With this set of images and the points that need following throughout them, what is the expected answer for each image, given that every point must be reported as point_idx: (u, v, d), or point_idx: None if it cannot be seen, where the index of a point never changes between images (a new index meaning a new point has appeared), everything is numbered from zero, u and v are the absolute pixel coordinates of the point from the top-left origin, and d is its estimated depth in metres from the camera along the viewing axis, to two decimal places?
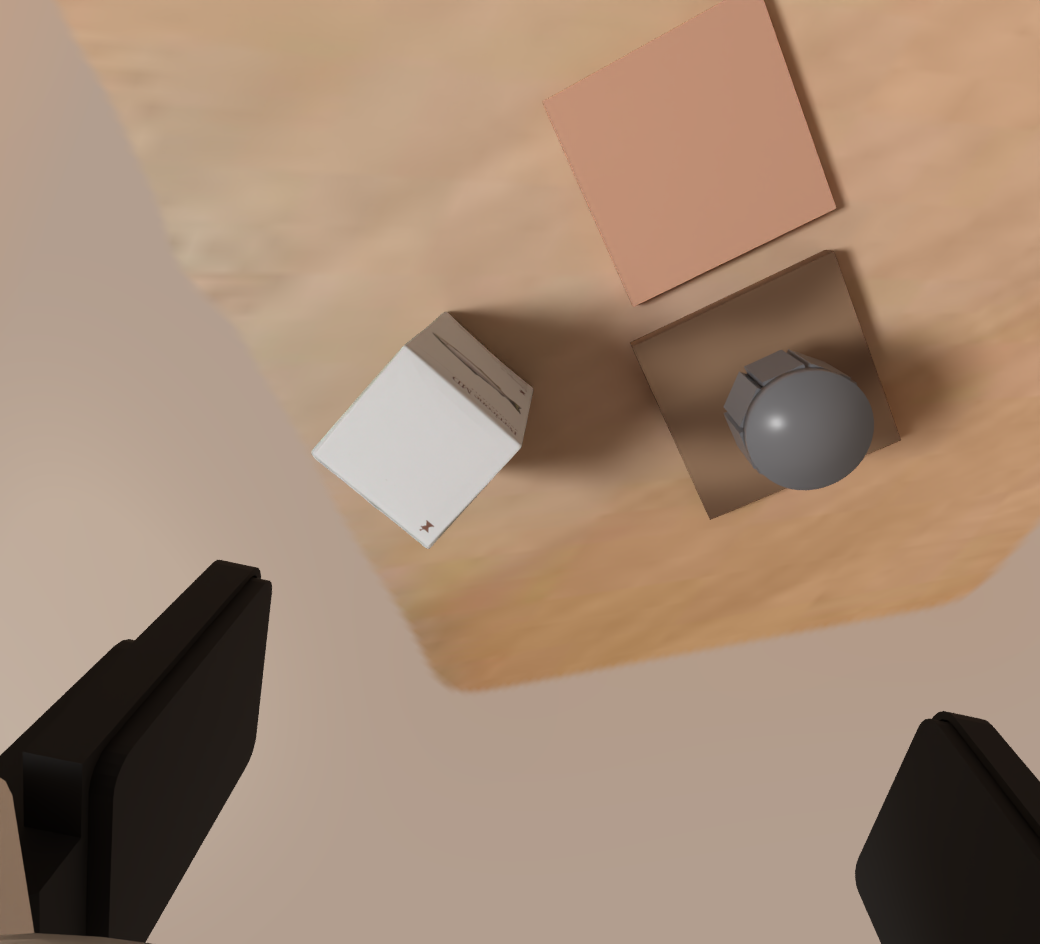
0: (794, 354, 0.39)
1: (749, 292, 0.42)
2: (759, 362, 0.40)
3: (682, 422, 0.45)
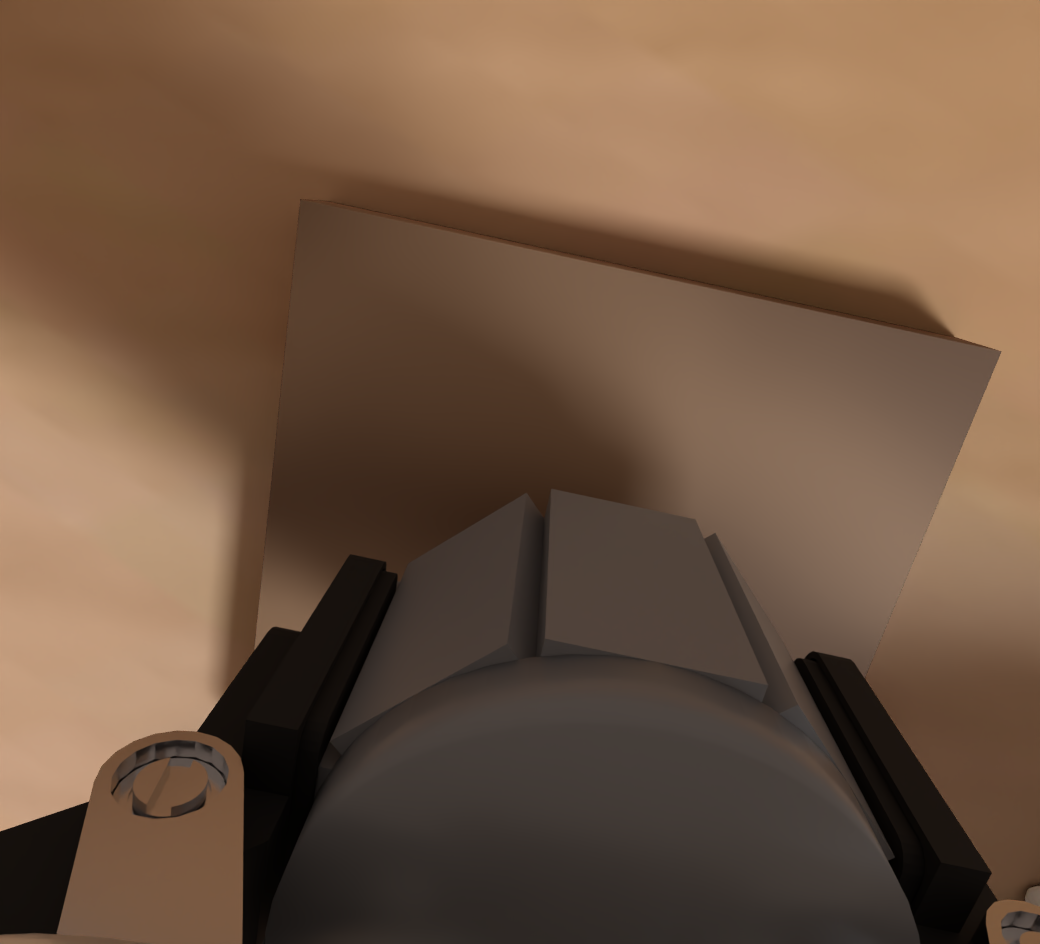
0: None
1: None
2: None
3: None
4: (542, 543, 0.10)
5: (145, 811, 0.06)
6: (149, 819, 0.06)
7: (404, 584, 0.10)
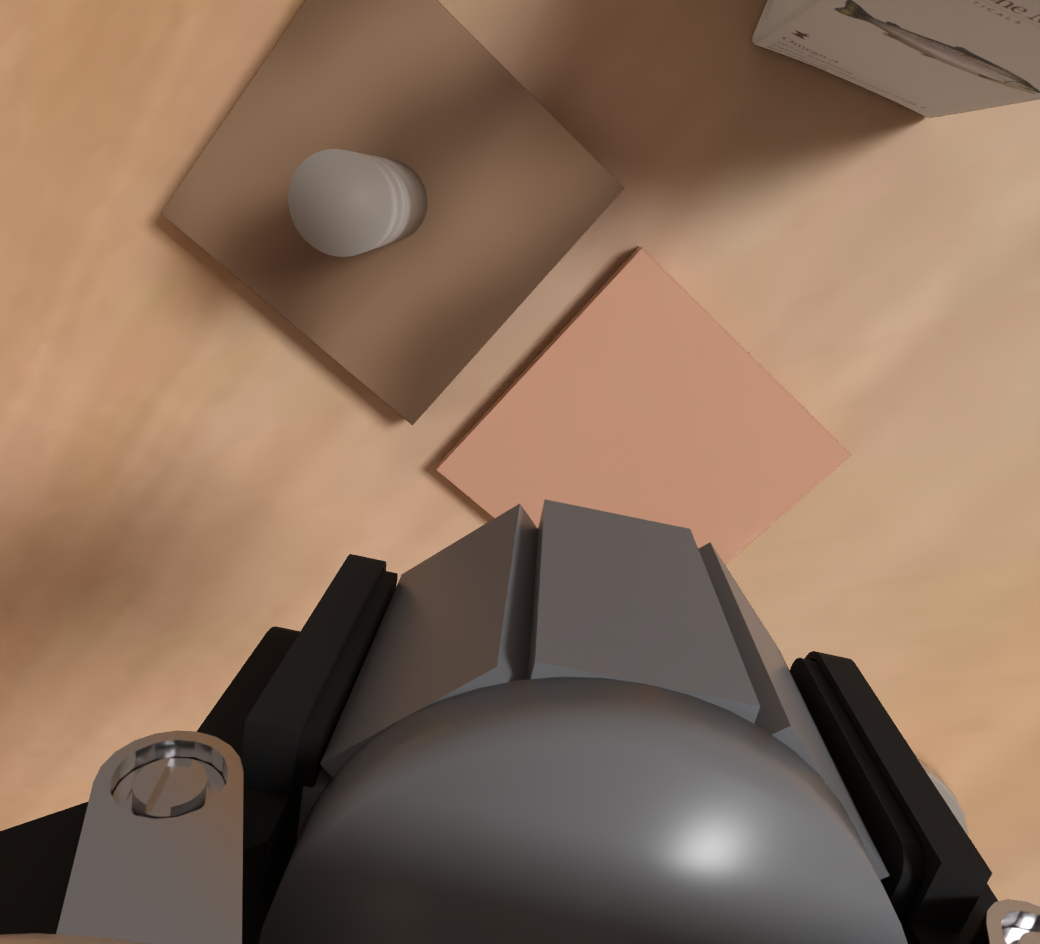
0: None
1: (491, 334, 0.29)
2: None
3: (494, 94, 0.26)
4: (535, 555, 0.10)
5: (145, 811, 0.06)
6: (149, 819, 0.06)
7: (397, 597, 0.10)
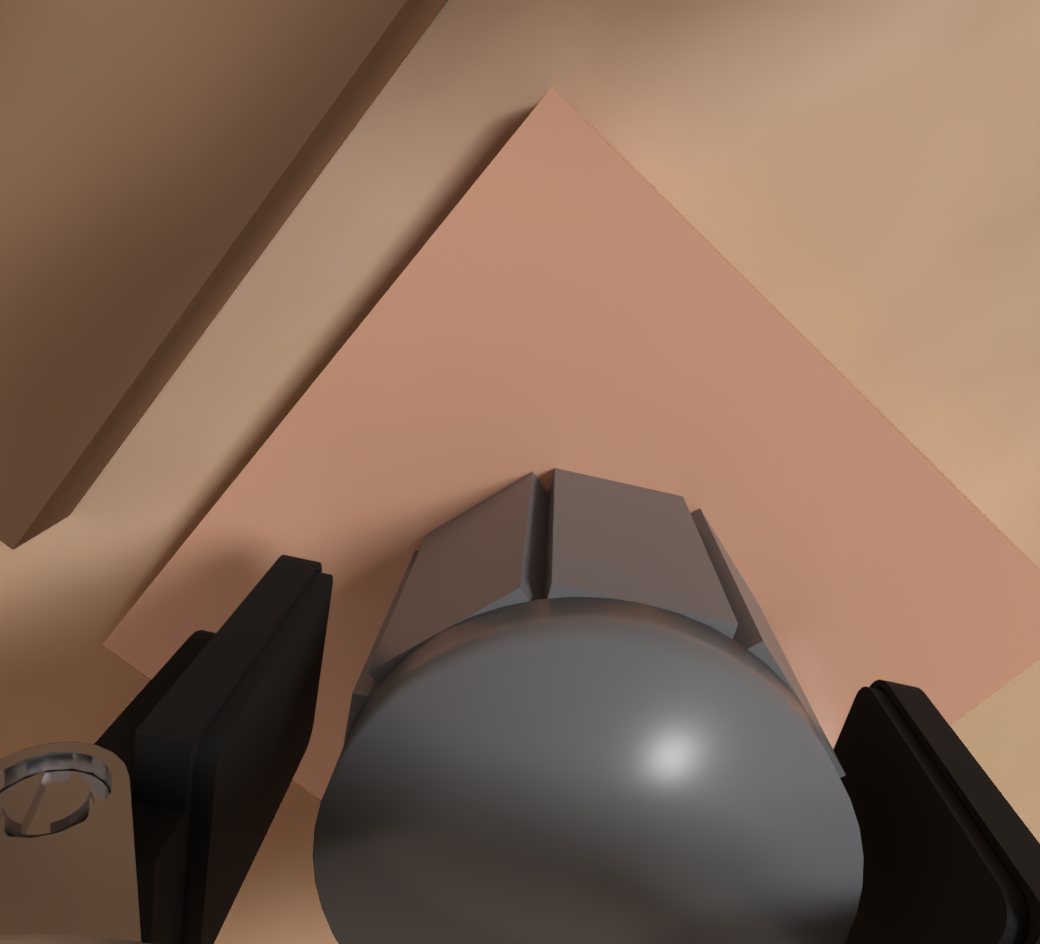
0: None
1: (168, 326, 0.11)
2: None
3: None
4: (547, 514, 0.11)
5: (20, 831, 0.06)
6: (26, 839, 0.06)
7: (424, 550, 0.12)
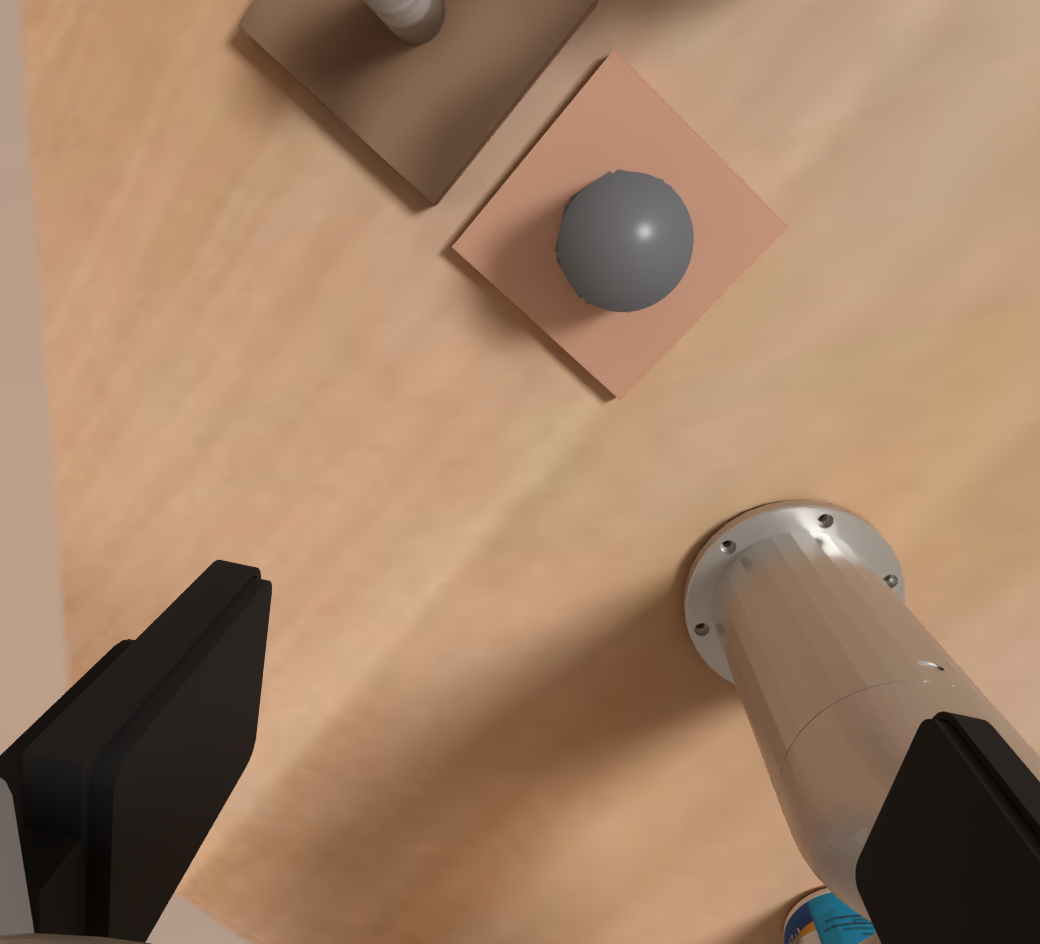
0: None
1: (495, 122, 0.36)
2: None
3: None
4: None
5: None
6: None
7: None
